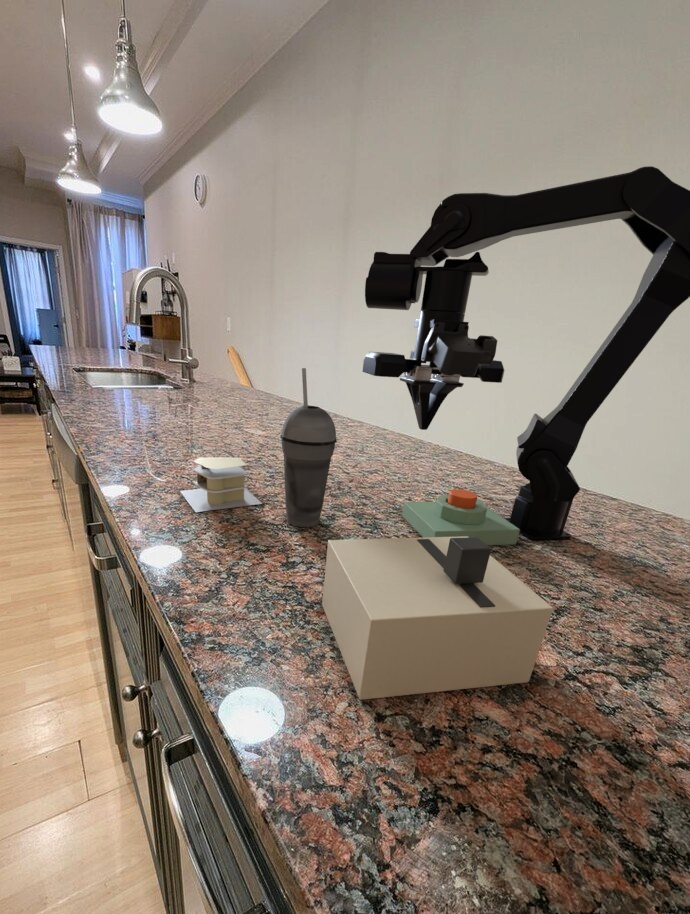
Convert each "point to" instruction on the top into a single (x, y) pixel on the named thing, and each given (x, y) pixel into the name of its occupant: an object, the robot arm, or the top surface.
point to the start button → (462, 499)
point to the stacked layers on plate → (219, 485)
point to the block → (459, 521)
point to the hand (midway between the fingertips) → (422, 429)
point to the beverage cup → (306, 460)
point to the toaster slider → (466, 560)
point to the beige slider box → (427, 619)
